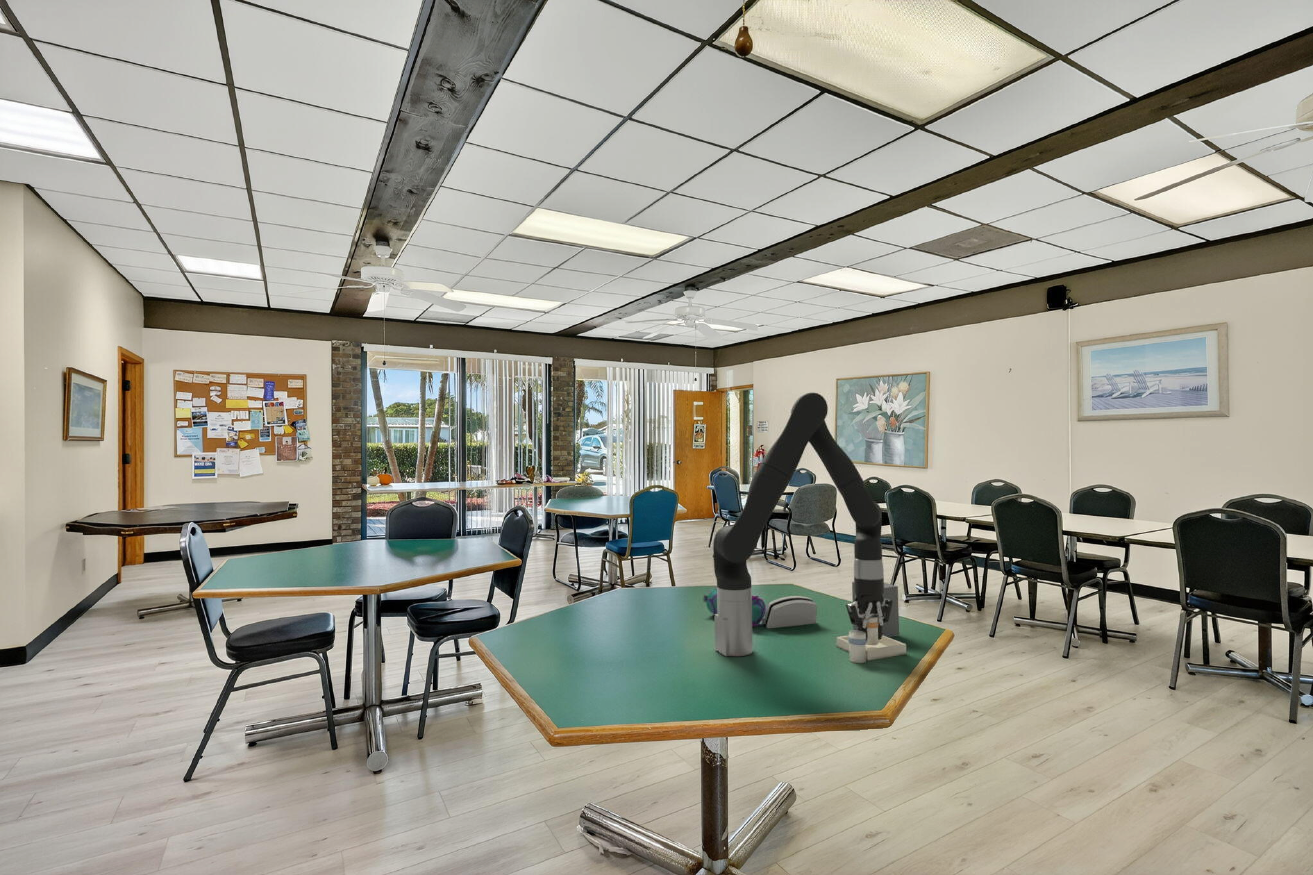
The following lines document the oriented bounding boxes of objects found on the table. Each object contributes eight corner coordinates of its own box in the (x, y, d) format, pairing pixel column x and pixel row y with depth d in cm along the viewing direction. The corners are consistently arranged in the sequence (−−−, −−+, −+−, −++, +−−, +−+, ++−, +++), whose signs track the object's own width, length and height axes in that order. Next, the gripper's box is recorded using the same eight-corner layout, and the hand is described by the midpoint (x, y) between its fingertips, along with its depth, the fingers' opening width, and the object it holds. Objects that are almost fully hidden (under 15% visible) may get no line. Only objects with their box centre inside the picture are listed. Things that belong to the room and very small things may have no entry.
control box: (874, 639, 172) (873, 589, 172) (851, 629, 182) (850, 582, 182) (900, 635, 175) (899, 586, 176) (876, 626, 185) (874, 579, 185)
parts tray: (867, 660, 155) (867, 650, 155) (836, 646, 167) (836, 637, 167) (906, 654, 159) (906, 644, 160) (873, 640, 171) (873, 631, 171)
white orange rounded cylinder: (869, 646, 160) (868, 619, 161) (858, 641, 164) (857, 615, 165) (882, 644, 162) (881, 617, 162) (871, 639, 166) (870, 613, 166)
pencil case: (703, 615, 200) (702, 586, 201) (723, 611, 206) (722, 582, 206) (747, 630, 184) (747, 598, 184) (768, 624, 189) (768, 593, 189)
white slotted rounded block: (808, 618, 194) (813, 591, 191) (816, 627, 190) (821, 599, 187) (760, 624, 189) (764, 595, 186) (767, 633, 185) (771, 604, 182)
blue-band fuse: (855, 663, 153) (854, 635, 153) (845, 658, 157) (845, 630, 157) (870, 662, 154) (869, 634, 154) (860, 656, 158) (859, 629, 158)
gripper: (880, 570, 170) (881, 632, 169) (837, 575, 164) (839, 639, 164) (900, 575, 163) (901, 640, 162) (856, 580, 157) (857, 647, 157)
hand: (870, 639), depth 163 cm, fingers closed on white orange rounded cylinder, 4 cm apart
